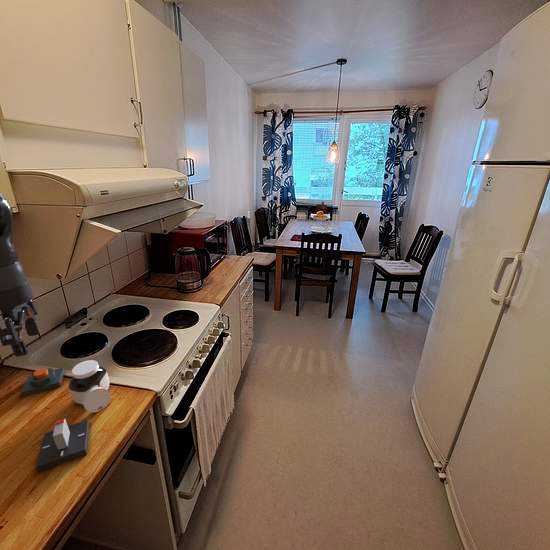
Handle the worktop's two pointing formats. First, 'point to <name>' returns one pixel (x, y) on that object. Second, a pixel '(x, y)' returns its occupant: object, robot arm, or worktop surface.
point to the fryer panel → (75, 448)
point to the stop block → (43, 382)
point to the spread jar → (90, 385)
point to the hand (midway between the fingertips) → (28, 344)
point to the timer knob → (61, 434)
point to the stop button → (41, 373)
